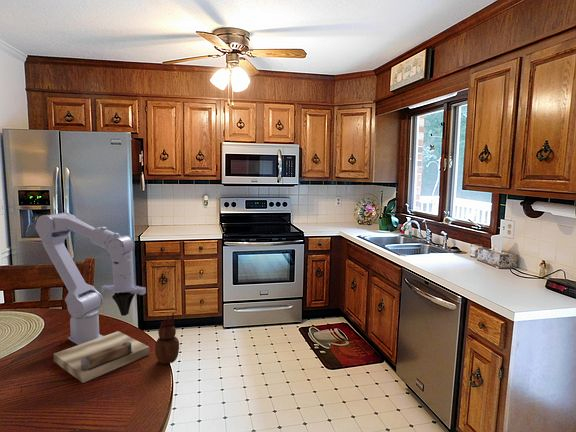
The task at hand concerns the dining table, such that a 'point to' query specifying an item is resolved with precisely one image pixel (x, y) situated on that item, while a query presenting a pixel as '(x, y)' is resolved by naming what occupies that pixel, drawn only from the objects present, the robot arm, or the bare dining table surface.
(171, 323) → the wooden figurine
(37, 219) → the robot arm
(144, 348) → the maple seat
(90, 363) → the walnut leg
